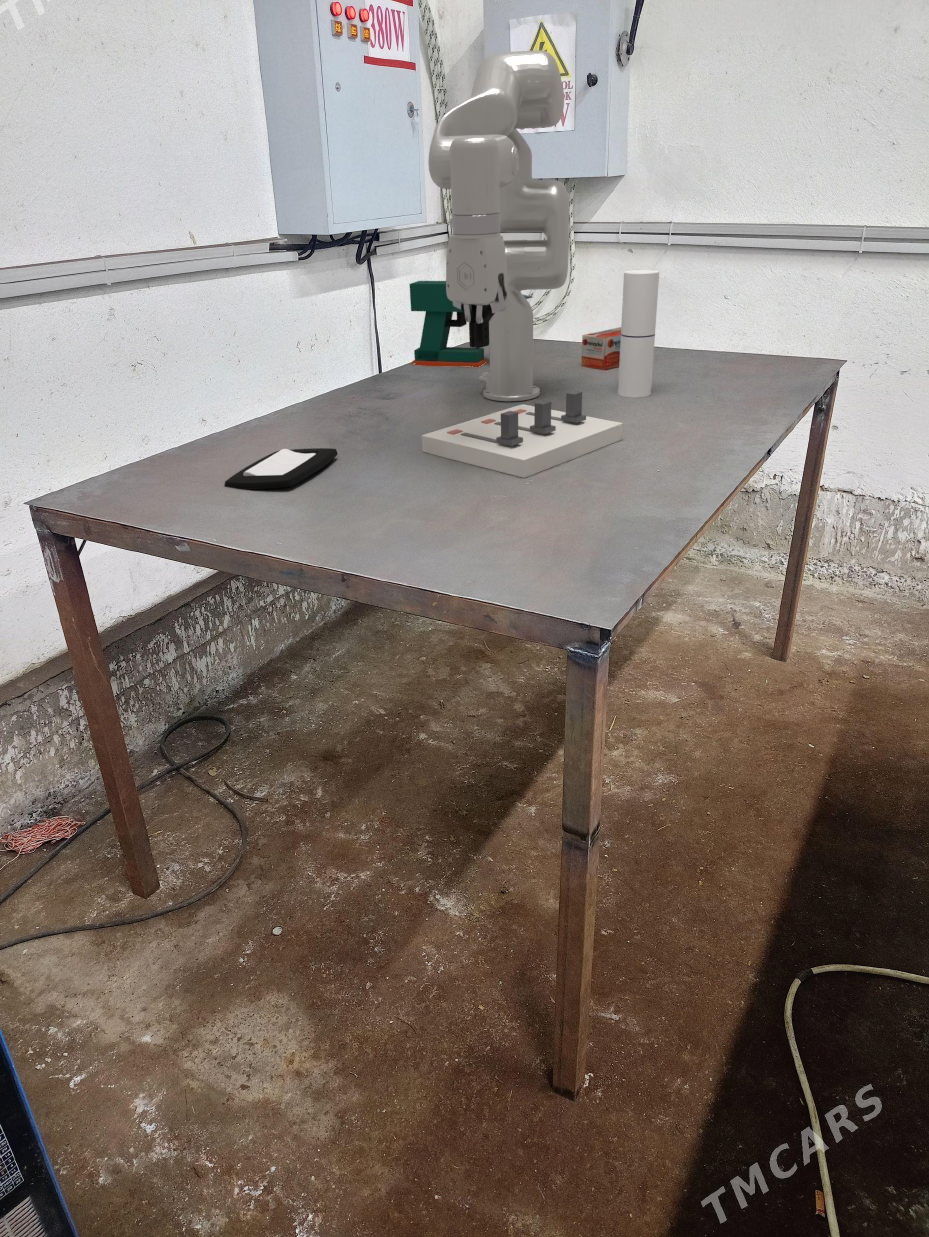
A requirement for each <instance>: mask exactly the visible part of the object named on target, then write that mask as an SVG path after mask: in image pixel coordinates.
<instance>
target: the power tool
mask: <svg viewBox="0 0 929 1237" xmlns="http://www.w3.org/2000/svg"><path fill="white" fill-rule="evenodd" d="M522 295H523V296H524V297H525V298H526V300H527V299H532V298H533V299H534V296H531V295H527V294H523V293H522ZM409 298H410V299H409V300H410V312H425V315H424V320H423V326H422V333H421V338H420V344H419V347H418V348H416V349H413V350H414V351H413V352H414V359H413V360H412V361H411V364H413V363H416V364H415V365H421V367H422V366H423V367H442V366H471V367H472V366H473V367H479V366H481V365H482V364H484V363H485V362H487V363H488V361H487V360H488V358H485V347H481V348H475V347H474V348H473V347H457V346H456V347H455V346H453V347H452V346H448V341H449V336H450V330H451V328H455V327H456V328H463V327H464V326H466V325H467V323H468V322H467V321H466V319H465V314H464V313H463V311H462V310H461V309H459V308H456V307H454V306H453V301H451V300H449V299H448V297H447V292H446V280H417V281H414V282H411V283H409ZM484 309H485V307H484ZM454 313H456V319H453V315H454ZM415 365H414V366H415ZM484 365H485V364H484ZM481 367H482V366H481Z"/></svg>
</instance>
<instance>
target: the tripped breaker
mask: <svg viewBox="0 0 929 1237" xmlns="http://www.w3.org/2000/svg"><path fill="white" fill-rule="evenodd" d="M496 442H497V443H502V444H506V445H510V446H514V445H516V444H519V443H522V442H523V437H518V412H514V411H508V412H505V413H501V436H500V437H497V438H496Z"/></svg>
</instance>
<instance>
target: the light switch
mask: <svg viewBox="0 0 929 1237" xmlns="http://www.w3.org/2000/svg"><path fill="white" fill-rule="evenodd" d="M337 456H338V451H337V448H329V447H328V448H325V447H323V448H318V447H317V448H315V447H314V448H295V449H293V448H292V449H287V448H282V449H280V450H276V451H274V452H272V453H269V454H268V455H266V456H263V457H262V458H260V459H258V460H256V461H255V462H252V463H251V464H249V465H247V466H246V467H243V469H241V470H239V471H238V472H236V473H235V474H233V475H232V476H231V477H229V478H228V479H226V480H225V481H224V487H226V488H231V489H238V490H264V489H265V490H267V489H278V488H280V489H281V488H289V487H292V486H294V485H297V484H298V483H299V482H301V481H303V480H304V479H306V478H308V477H310V476H311V475H313V474H314V473H317V471H319V470H321V469H322V468H323V467H325V466H326V465H327V464H329V463H330V462H331V461H332V460H334V458H336V457H337Z"/></svg>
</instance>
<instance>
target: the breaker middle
mask: <svg viewBox="0 0 929 1237" xmlns="http://www.w3.org/2000/svg"><path fill="white" fill-rule="evenodd" d="M534 406H535V417H534V425H532V426H530V431H534V432H538V433H543V434H547V433H550V432H553V431H556V426H553V425H551V410H552V401H549V400H539V401H536V402H534Z"/></svg>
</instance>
